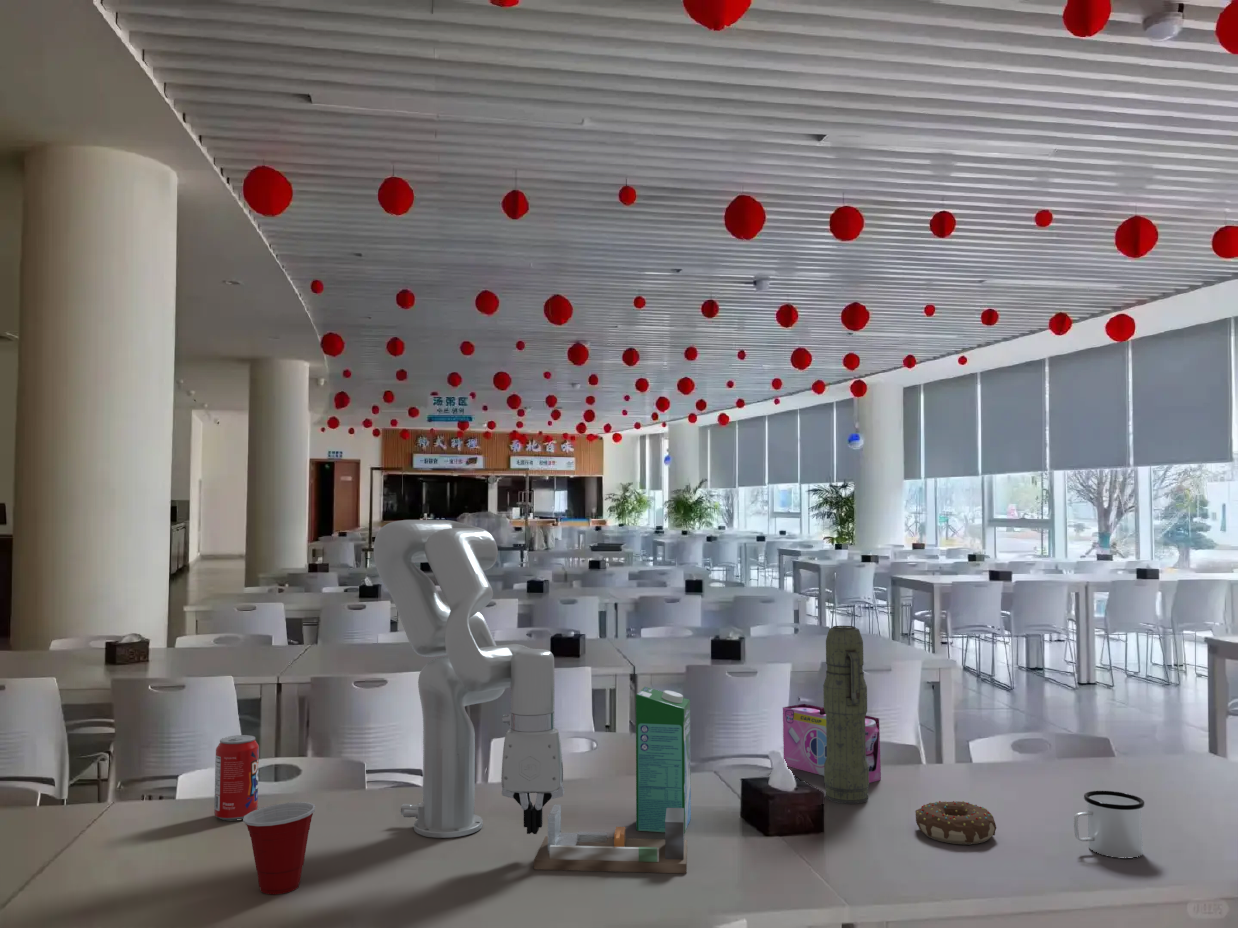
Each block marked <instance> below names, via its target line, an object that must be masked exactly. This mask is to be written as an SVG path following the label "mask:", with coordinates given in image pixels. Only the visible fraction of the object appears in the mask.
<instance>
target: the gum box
mask: <svg viewBox="0 0 1238 928" xmlns="http://www.w3.org/2000/svg"><path fill="white" fill-rule="evenodd" d="M782 726H783V727H782V733H783V734H782V739H783V740H782V741H783V760H784V759H785V761H786V763H787V765H788V766H787V767H790V768H793V769H797V770H800V771H804V772H807V773H811V774H815V775H819V776H823V777H824V763H825V761H826V758H827V738H826V714H825V711H824V706H823V707H822V706H817V705H812V704H807V703H800V704H793V705H788V706H783V707H782ZM880 729H881V728H880V718H879V717H875V716H871V715H867V714H866V716H865V741H866V761H867V763H868V766H869V784H870V783H873V782H878V781H881V780H882V776H881V775H882V773H881V769H882V768H881V738H880V737H881V735H880V734H881V733H880V732H881V731H880Z"/></svg>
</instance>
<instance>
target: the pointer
mask: <svg viewBox="0 0 1238 928" xmlns="http://www.w3.org/2000/svg"><path fill="white" fill-rule="evenodd" d="M613 836H614V837H613V838H614V847H624V846H625V842H626V826H616V827H615V830H614V834H613Z"/></svg>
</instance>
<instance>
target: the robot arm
mask: <svg viewBox="0 0 1238 928" xmlns="http://www.w3.org/2000/svg"><path fill="white" fill-rule="evenodd" d="M498 551H499V550H498V545H497V542H496V540H495V538H494V536H493V535H492V534H491V533H490V532H489V531H488V530H486V529H484V528H482V527H478V526H475V525H471V524H466V523H464V522H463V523H462V522H459V521H456V520H450V519H447V520H446V519H403V520H395V521H391V522H388V523H387V524H384V525H383V526H381V528H380V529H379V530H378V532H377V533H376V536H375V538H374V543H373V559H374V565H375V568H376V571H377V573H378V576H379V578H380V580H381V582H382V583H383V585H384V587H385V588H386V590H387V592H388V594H389V595H390V597H391V599H392V601H393V604H394V606H395V609H396V611H397V614H398V617H399V619H400V621H401V624H402V627H403V629H404V632H405V635H406V637H407V640H408V642H409V645H410V647H411V649H412V650H413V652H414V653H415V654H416V655H418V656H419V657H423V658H424V657H425V658H426V657H427V658H431V657H434V658H435V657H437V658H435V659H433V660H431V661H428V663H426V664H425V665H424V666H423V667H422V669H421V670H420V672H419V673H418V678H417V679H418V680H417V683H418V684H417V686H418V694H419V700H420V704H421V705H420V706H421V713H422V728H423V729H422V730H423V731H422V733H423V734H422V738H423V739H422V740H423V741H422V743H423V744H422V745H423V747H422V749H423V750H422V755H423V756H422V764H423V765H422V802H418V803H417V804H412V803H402V804H401V806H400V815H403V816H402V817H403V818H415V819H416V820H415V822H414V824H413V831H414V832H415V833H416V834H418V835H420V836H422V837H427V838H434V839H435V838H437V839H447V838H448V839H450V838H458V837H464V836H469V835H471V834H474V833H477V832H478V831H480V830H481V829H482V827H483V825H484V823H483V818H482V817H481V816H480V815H478V814H475V789H476V788H475V782H476V781H475V779H476V778H475V769H476V768H475V766H476V765H475V764H476V763H475V761H476V759H475V758H476V757H475V756H476V755H475V754H476V750H475V749H476V747H475V745H476V744H475V742H476V741H475V739H476V735H475V726H474V724H473V722H472V720H471V718H470V716H469V715H468V713H467V711H466V708H465V707H468V706H470V705H475V704H482V703H487V702H492V701H494V700H495V701H496V700H497V699H499V698H500V697H501V696H502V695H503V693H504V692H505V690H506V689H509V688H510V712H509V714H503V715H502V719H501V721H502V722H501V723H502V724H507V725H508V726H509V729H508V730H506V731H505V736H504V741H503V747H502V748H503V750H502V757H501V758H502V761H501V783H500V784H501V788H502V789H501V793H500V794H501V796H503V797H506V798H511V799H514V801H515V802H517V804H519V805H520V807H521V809H522V810H523V828H526V834H527V835H531V834H533V835H537V834H538V833H539V831H540V828H541V829H542V827H543V807H545V806H546V804H547V803H549V801H550V800H555V799H558V798H562V797H563V796H564V795H565V787H564V784H563V781H564V766H563V752H562V743H561V738H560V733H559V729H558V728H555V726H556V725H555V724H556V723H555V721H556V719H555V718H556V717H555V657H554V656H555V655H554V654H553V653H552V651H550V650H548V649H545V648H544V649H543V648H531V647H528V646H526V645H523V644H519V643H518V644H517V643H510V644H503V645H501V644H500V645H497V643H496V641H495V639H494V636H493V634H492V631H491V629H490V626H489V625H488V622H487V620H486V618H485V617H484V615H483V614H482V613H481V611H482V610H484V609H485V608H486V607H487V606H488V605H489V604H490V602H491V601H492V599H493V596H494V591H493V588H492V585H491V584H490V581H489V580H488V577H487V575H486V574H485V572H484V571H487V570H489V569H491V568H493V566H494V565H495V564H496V562H497V561H498V556H499V555H498V553H499V552H498ZM416 563H428V565H429V566H430V568H431V570H432V573H433V575H434V578H435V579H436V582H437V584H438V586H439V587H440V590H441V592H442V594H443V596H444V599H445V601H446V603H447V604H445V603H444V602H443V601H442V599H441V596H440V595H439V592H438V590H437V587H436V585H435V584H434V581H432V579H431V578H430V577H429V575H427V574H426V573H425V572H424V571H423V570H422V569H420V568H419V567H417V565H416ZM441 656H442V657H441ZM531 794H536V797H535V803H534V805H533V802H532V799H531Z"/></svg>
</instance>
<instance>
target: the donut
mask: <svg viewBox="0 0 1238 928" xmlns="http://www.w3.org/2000/svg"><path fill="white" fill-rule="evenodd" d="M914 812H915V822H916V826H917V827H918V829H919V831H920V832H921V834H924V835H925V836H927V837H928V838H930V839H933V840H934V841H938V842H941V843H942V842H943V843H947V844H952V845H953V844H955V845H977V844H981V843H984V842H987V841H988V840H989V839H991V838H992V837H993V836H995V835H996V830H997V825H996V822H995V817H994V816H993V814H992V813H991V812H990V811H989V809H987V808H984V806H978V805H977V804H973V803H970V802H969V801H968V802H965V800H962V801H956V800H953V801H946V800H944V801H941V800H939V801H935V802H928V803H926V804H923V805H921V807H920V808H918V809H916V810H915V811H914Z"/></svg>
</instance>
